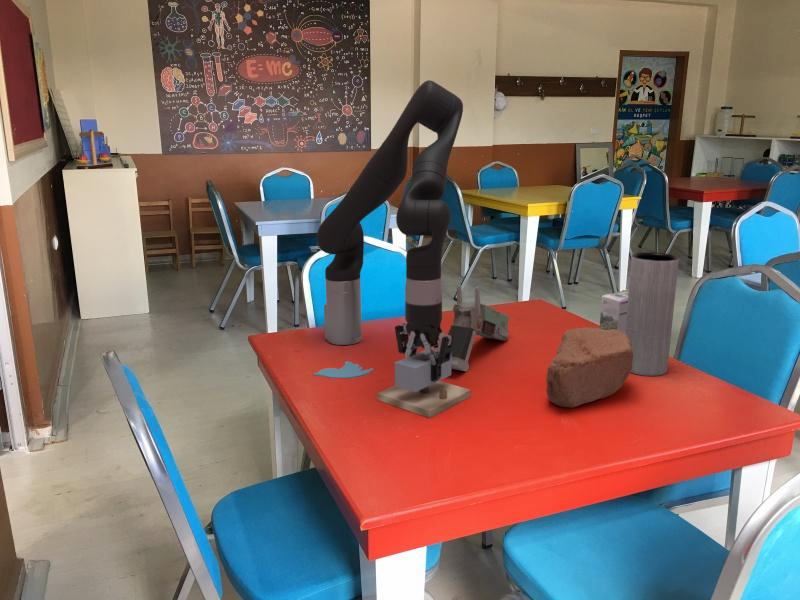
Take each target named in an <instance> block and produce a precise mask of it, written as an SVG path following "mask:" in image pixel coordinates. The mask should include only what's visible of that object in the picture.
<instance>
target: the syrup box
mask: <svg viewBox="0 0 800 600" xmlns="http://www.w3.org/2000/svg"><path fill="white" fill-rule="evenodd" d="M627 304H628V295H625V294H621V293H617V292H612V293H610V292H609V293H606V294H603V295H601V302H600V315H599V317H600V318H599V327H598V328H599V329H603V330H610V329H616V330H620V331H621V332H623V333H625V327H626V315H627Z"/></svg>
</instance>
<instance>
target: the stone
mask: <svg viewBox="0 0 800 600" xmlns="http://www.w3.org/2000/svg"><path fill="white" fill-rule="evenodd" d="M599 328H600V327H591V326H583V327H576V328H575V327H574V328H573V329H568V330H565V331H564V332H563V335H562V337H561V342H560V343H559V345H558V347H557V351H556V356H554V358H552V360H551V362H550V364H549V366H548V367H547V372H546V378H545V379H546V396H547V399H548V400H549V401H550V402H551V403H553V404H554V405H556V406H559V407H563V408H571V409H573V408H575V407H579V406H581V405H584V404H587V403H591V402H594V401H596V400H601V399H605V398H607V397H610V396H612V395H614V394H615V393H616V392H617V391H619V390H620V389H621V388H622V387H623V385H624V384H625V382H626V381H627V378H628V377H629V376H630V375H631V370H632V362H633V351H632V346H631V342H630V339H629V337H628V336H627V335H626V334H625V333H623V332H621V331H620V330H616V329H610V330H603V329H599Z"/></svg>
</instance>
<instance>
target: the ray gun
mask: <svg viewBox="0 0 800 600" xmlns="http://www.w3.org/2000/svg"><path fill="white" fill-rule="evenodd" d="M462 294H463V293H462V284H458V286H457V287H456V304H455V303H454V304H453V307H452V311H453V323H452V324H451V326H450V328H449V331H448V332H447V335H450V334H452V335H453V336H454V340H453V345H452V351H451V370H455V371H456V370H457V371H461V372H468V371H469V369H470V365H469V359H470V355H471V351H472V348H473V344H474V341H475V339H476V338H475V337H476V336H479V337H482V338H486V339H491V340H497V341H504V342H506V340H507V339H508V338H509V332H510V330H509V329H508V328H509V321H510V316H509V315H507V314H505V313H503V312H501V311H499V310H496V309H494V308H492V307H490V306H488V305H486V304H482V303H481V293H480V288H479V286H476V287H475V288H474V302H466V301H463V295H462Z"/></svg>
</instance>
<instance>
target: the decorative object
mask: <svg viewBox="0 0 800 600" xmlns="http://www.w3.org/2000/svg"><path fill="white" fill-rule="evenodd" d="M344 362H345V364H344V365H343V366H342V367H340V368H339V369H338V368H335V367H326V368H322V369H320V370H319V371H318V372H315V373H313V374H316V375H313V376H314V377H324V376H325V377H324V378H328V377H330V378H329V379H336V378H346V379H355V378H360V377H363V375H364V376H366V375H368V374H371V373H372V372H373V371H374V367H372V368H369V369H364V370H363V367H362V366H360V365H359V364H358V363H353V362H351V361H348V360H346V361H344ZM359 376H360V377H359ZM354 377H355V378H354Z"/></svg>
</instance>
